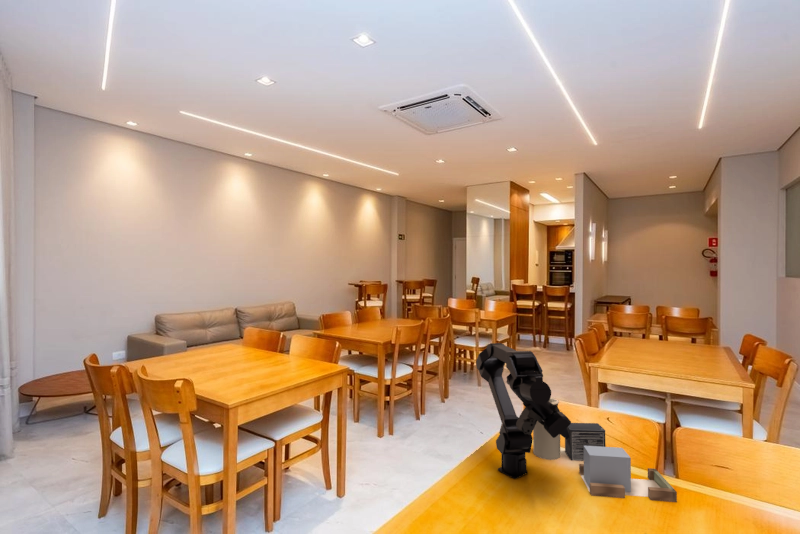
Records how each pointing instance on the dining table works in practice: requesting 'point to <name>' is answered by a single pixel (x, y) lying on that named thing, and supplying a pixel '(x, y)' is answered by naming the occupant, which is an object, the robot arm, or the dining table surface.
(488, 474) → the dining table surface
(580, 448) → the small box
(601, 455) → the block
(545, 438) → the travel mug
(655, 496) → the brown piece
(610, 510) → the dining table surface
